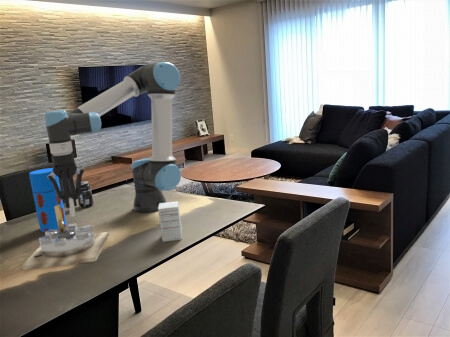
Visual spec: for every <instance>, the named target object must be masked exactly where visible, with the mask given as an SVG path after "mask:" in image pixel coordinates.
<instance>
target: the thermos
mask: <svg viewBox="0 0 450 337" xmlns="http://www.w3.org/2000/svg"><path fill="white" fill-rule="evenodd" d="M52 172H53V167H51V168H42V169H37V170H33V171H30V172H29V174H28V175H29V181H30V185H31V191H32V196H33V201H34V206H35V211H36V215H37V222H38V225H39V229H40V232H42V233H45V231H47V230H50V229H57V231H59V228H58V223H57V218H56V212H55V207H54V206H56V205H60V207H61V213H62V218H63V223H64V229H66V228H67V226H68V225H67V219H66V212H65V207H64V205H65V204H64V201H63V200H64V199H60V198H59V197H58V195H57V193H56V191H55V189H54V187H53V184H52V182H51V181H50V180H49V179H48V178H47V175H50V174H51V173H52ZM55 180H56V182H57V185H58V187H59V189H60V191H61V192H62V188H61V182H60V178H59V177H57V176H56V175H55Z"/></svg>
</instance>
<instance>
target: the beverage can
mask: <svg viewBox="0 0 450 337" xmlns="http://www.w3.org/2000/svg"><path fill="white" fill-rule="evenodd" d="M92 193H93V192H92V185H91V183H89V181H88V180H87V181H81V192H80V195H79V196H77V200H78V205H79V207H80V208H84V209H85V208H90V207H92V206H93V204H94V200H93V199H94V198H93V194H92Z"/></svg>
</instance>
